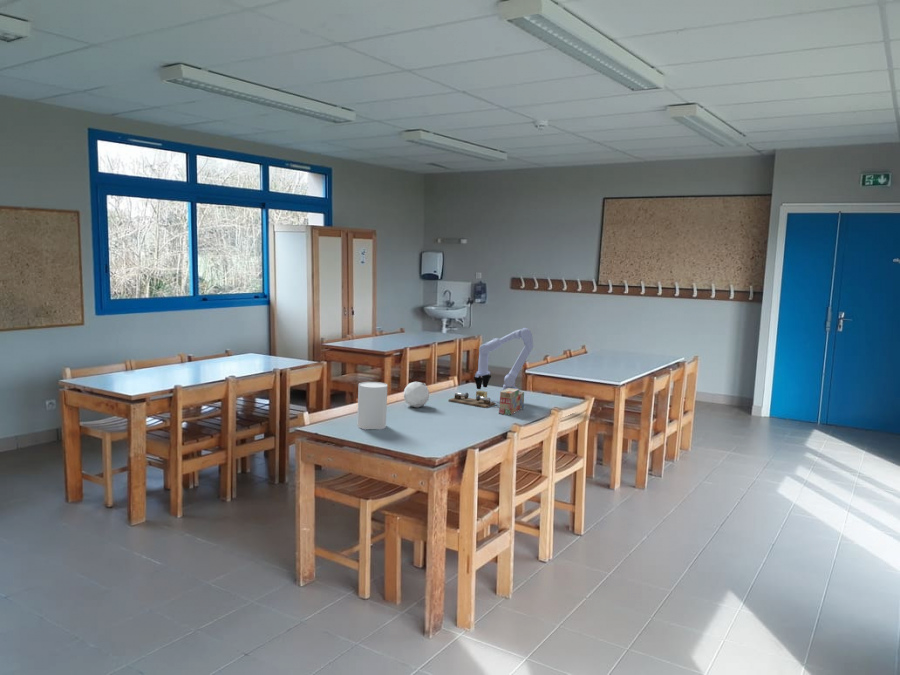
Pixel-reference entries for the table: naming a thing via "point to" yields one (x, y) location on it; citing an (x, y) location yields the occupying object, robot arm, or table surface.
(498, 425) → the table surface
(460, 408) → the table surface
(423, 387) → the geodesic sphere
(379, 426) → the canister
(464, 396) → the shafts
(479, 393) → the wooden block
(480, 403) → the shaft bench
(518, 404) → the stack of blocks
